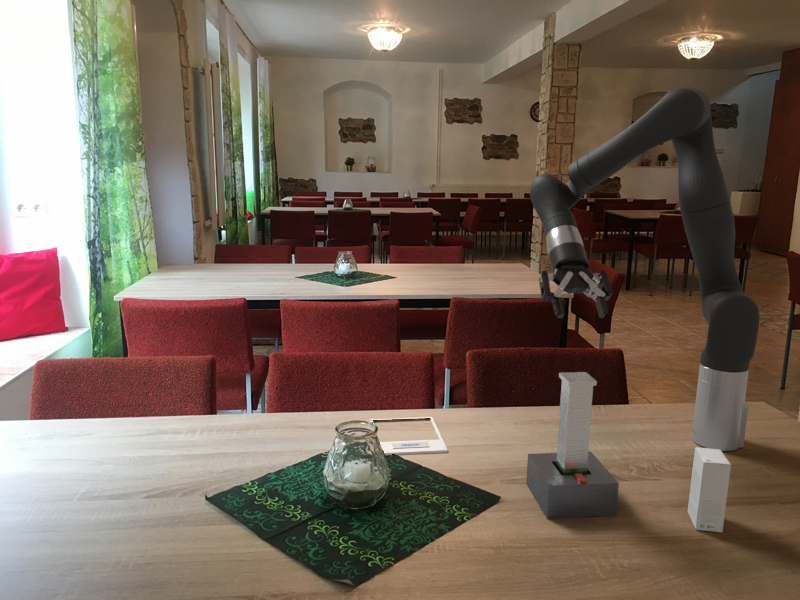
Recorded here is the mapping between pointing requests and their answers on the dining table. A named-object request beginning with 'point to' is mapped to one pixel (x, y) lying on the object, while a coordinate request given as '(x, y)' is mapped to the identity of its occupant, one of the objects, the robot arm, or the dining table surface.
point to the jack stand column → (574, 422)
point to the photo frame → (414, 443)
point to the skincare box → (709, 489)
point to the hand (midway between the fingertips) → (582, 316)
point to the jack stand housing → (571, 488)
